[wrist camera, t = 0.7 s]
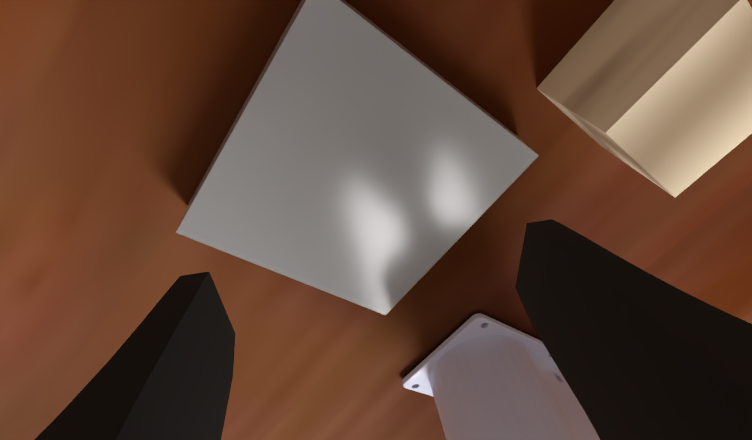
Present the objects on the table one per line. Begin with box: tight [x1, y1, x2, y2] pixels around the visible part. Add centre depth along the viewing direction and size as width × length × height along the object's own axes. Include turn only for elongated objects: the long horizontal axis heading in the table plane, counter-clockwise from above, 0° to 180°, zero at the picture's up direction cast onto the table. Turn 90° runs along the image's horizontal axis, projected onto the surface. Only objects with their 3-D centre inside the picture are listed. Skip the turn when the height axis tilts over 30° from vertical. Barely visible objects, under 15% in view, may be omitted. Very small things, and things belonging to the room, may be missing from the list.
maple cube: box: [537, 0, 752, 197], centre depth 16 cm, size 5×5×5 cm
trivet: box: [176, 0, 539, 315], centre depth 18 cm, size 11×11×2 cm
